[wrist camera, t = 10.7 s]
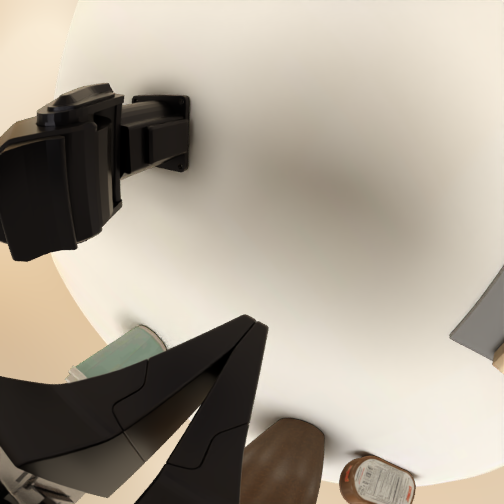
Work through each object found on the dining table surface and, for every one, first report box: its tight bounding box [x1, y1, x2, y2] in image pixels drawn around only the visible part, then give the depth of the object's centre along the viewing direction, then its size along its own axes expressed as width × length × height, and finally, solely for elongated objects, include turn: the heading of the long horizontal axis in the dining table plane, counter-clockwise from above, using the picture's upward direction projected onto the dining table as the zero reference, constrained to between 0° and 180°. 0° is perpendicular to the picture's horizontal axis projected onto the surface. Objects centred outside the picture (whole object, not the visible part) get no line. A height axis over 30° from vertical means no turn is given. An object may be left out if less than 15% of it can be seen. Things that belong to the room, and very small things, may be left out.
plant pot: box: [240, 418, 324, 504], centre depth 30 cm, size 15×15×16 cm
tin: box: [339, 456, 416, 504], centre depth 29 cm, size 15×3×8 cm, turn 65°
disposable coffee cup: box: [65, 325, 166, 383], centre depth 37 cm, size 11×11×15 cm
